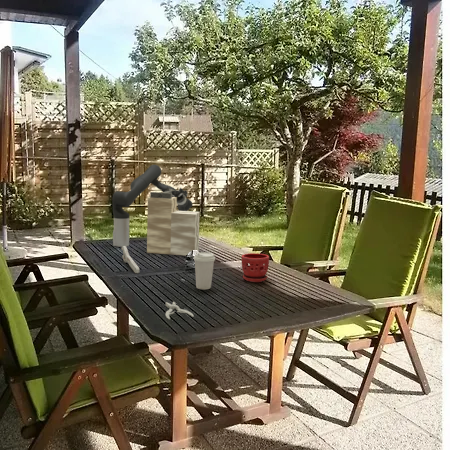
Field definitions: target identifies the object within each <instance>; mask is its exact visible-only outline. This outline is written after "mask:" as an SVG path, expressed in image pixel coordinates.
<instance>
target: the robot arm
mask: <svg viewBox="0 0 450 450" xmlns="http://www.w3.org/2000/svg"><path fill="white" fill-rule="evenodd" d="M161 175H162V168H161V167H160V166H159V165H158V164H151V165H149V166H148V168H147V169H146V170H145V171H144V172H143V173H141V174H140V175H138V177H136V178H134V180H132V181H131V183H130V185H129V186H130V190H128V191H117V190H116V191H114V193H113V194H112V198H111V199H112V213H113V230H112V246H113V247H121V248H122V246H126V247H129V246H130V213H129V212H127V211H126V210H124V208H128V207H130V206H132V204H133V203H134V202H135V200H136V199H137V198H138V197H139V196H140V195H141V194H142V193H143V192H144V191H145V190H146V189H148V188H149V186H150V185H153V186H154V187H155V188H157V189H158V190H160V191H161V193H162V192H166V191H172V197H177V209H178V210H177V211H190V209H191V208H192V207H193V201H192V200H191V199H188V198H187V197H188V194H189V193H188V191H187V190H186V189H185V190H184V189H183V188H182V187H179V189H176V188H174V187H173V186H171V185H168V184H166V183H163V182H161V181H160V180H159V177H160V176H161Z"/></svg>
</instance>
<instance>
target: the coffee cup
mask: <svg viewBox="0 0 450 450" xmlns="http://www.w3.org/2000/svg"><path fill="white" fill-rule="evenodd" d="M193 260H194V270H195V271H194V272H195V287H196V289H199V290H209V289H211V288H212V282H213V281H212V280H213V272H214V265H215V261H216V257H215V255H214V253H212V252H198V253H196V255H195V256H193Z"/></svg>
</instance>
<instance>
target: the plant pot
mask: <svg viewBox="0 0 450 450" xmlns="http://www.w3.org/2000/svg"><path fill="white" fill-rule="evenodd" d="M269 265H270V256H269V255H268V254H264V253H256V252H255V253H254V252H253V253H250V252H249V253H244V254H242V255H241V269H242V272H243V275H242V278H243V279H244V280H245V281H246V282H250V283H262V281H263V282H264V281H266V280H268V279H267V278H268V275H267V273H268V270H269Z"/></svg>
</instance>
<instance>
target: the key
mask: <svg viewBox="0 0 450 450" xmlns="http://www.w3.org/2000/svg"><path fill="white" fill-rule="evenodd" d="M149 194H150V195H149V197H150V198H165V199H171V198H172V191H166V192H162V191H161V192H160V191H159V192H157V191H151V192H150V193H149Z"/></svg>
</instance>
